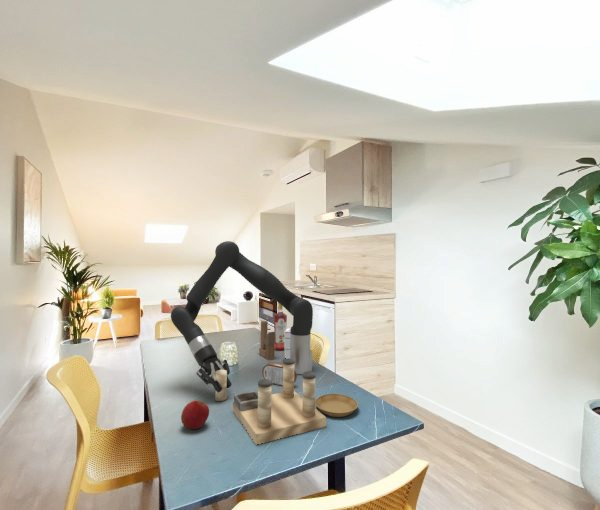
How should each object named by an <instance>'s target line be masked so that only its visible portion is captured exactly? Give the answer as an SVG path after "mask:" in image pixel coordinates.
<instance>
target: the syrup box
mask: <svg viewBox="0 0 600 510" xmlns="http://www.w3.org/2000/svg"><path fill="white" fill-rule="evenodd" d="M290 331H291V327H290V328H286V330H285V331H284V350H283V351H284V352H283V353H284V359H285V358H286V359H290Z"/></svg>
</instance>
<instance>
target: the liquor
mask: <svg viewBox="0 0 600 510" xmlns="http://www.w3.org/2000/svg"><path fill="white" fill-rule="evenodd" d="M277 303H278V302H277ZM277 307H278V308H277V313H275V314H274V315H273V326H274V327H273V328H274V329H273V332H275V345H274V346H275V350H276V351H284V331H285V330H287V321H288V315H287V314H285V313H284V307H283V306H282V305H281V304H280V303H278V306H277Z"/></svg>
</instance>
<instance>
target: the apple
mask: <svg viewBox="0 0 600 510" xmlns="http://www.w3.org/2000/svg"><path fill="white" fill-rule="evenodd" d="M209 416H210V407H209V406H208V405H207V404H206V403H205V402H203V401H200V400H196V399H195V400H191V401H190V402H188V403H187V404H186V405H185V406H184V408H183V410H182V412H181V416H180V420H181V423H182V425H183V426H184V427H185V428H187V429H190V430H197V429H199V428H201V427H202V426H204V424H205V423H206V422H207V420H208V417H209Z"/></svg>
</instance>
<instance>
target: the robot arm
mask: <svg viewBox="0 0 600 510" xmlns="http://www.w3.org/2000/svg"><path fill="white" fill-rule="evenodd" d="M214 252H215V256H214V258H213V260H212V262H211V263H210V265H209V266H208V268H207V269H206V270H205V271H204V272H203V274H202V275H201V276H200V277H199V279H198V280H197V281H196V282H195V283H194V285H193V286H192V288H191V289H190V290H189V292H188V293H187V295H186V297H185V298H186V301H187V302H186V303H185V304H186V305H185V306H175V307H174V308H173V309H172V310H171V312H170V319H171V322H172V324H173V325H174V327H175V328H176V329H177V330H178V332H179V333H180V334H181V335H182V337H183V339H184V340H185V342H186V344H187V345H188V347H189V351H190V352H191V354H192V356H193V357H194V359H195V361H196V363H197V364H198V366H200V368H199V369H198V370H197V371H196V375H197V377H199V378H200V379H201V380H202V382H203V383H205V384H206V385H212V387H213V388H214V390H216V391H217V392H218V393H219V392H221V390H222V387H221V385H220V384H219V382H218V380H217V379H216V371H217V370H226V371H227V389H230V387H231V386H232V382H231V380H230V378H229V377H228V376H229V374H230V373H231V370H230V366H229V364H228V360H227V359H224V360H220V359H219V358H218V353H217V352H216V350H215V349H214V346H213V345H212V344H211V342H210V340H209V339H208V337H207V336H206V335H205V333H204V331H203V330H202V328H201V326H200V325H199V324H197V323H195V321H196V319H197V317H198V315H199V313H200V310H201V307H202V305H203V303H204V302H205V301H206V299H207V298H208V296H209V295H210V293H211V292H212V291H213V289H214V287H215V286H216V285H217V283H218V281H219V279H221V277H222V276H223V274H224V273H225V272H226V271H227V269H229V268H231V269H232V270H234V271H236V272H237V273H238V274H239V275H241V277H242V278H244V279H245V280H246V281H247V282H248V283H249V284H251V285H252V286H253V287H255V289H256V290H258V291H260V292H261V293H263V295H265V296H267V297H269V298H270V299H272V300H274V301H276V302H277V303H280V304H281V305H282V306H283V309H285V310H286V311H288V313H289V314H290V315H291V316H293V317H292V326H291V327H290V328H291V331H290V359H294V360H295V363H294V370H295V371H296V374H297V375H303V373H304V372H313V351H312V350H311V332H312V328H313V320H314V319H313V317H314V310H313V306H312V303H311V302H310V301H309V300H308V299H304V298H302V297H300V296H298V295H296V294H295V293H293V292H292V291H290V290H289V289H288V288H287V287H286V286H285V285H284V284H283V283H282V281H280V279H278V278H277V276H276V275H274V274H273V273H272V272H270V271H269V270H267V269H266V268H265V267H263V266H261V265H259V264H258V263H256V262H254V261H252V260H250V259H248V258H247V257H246V256H245V255H244V254H242V253H241V252H240V248H239V246H238V244H237V243H236V242H234V241H230V240H229V241H228V240H225V241H223V242H220V243H219V244H218V245H217V246H216V248H215V250H214ZM216 380H217V381H216Z"/></svg>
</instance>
